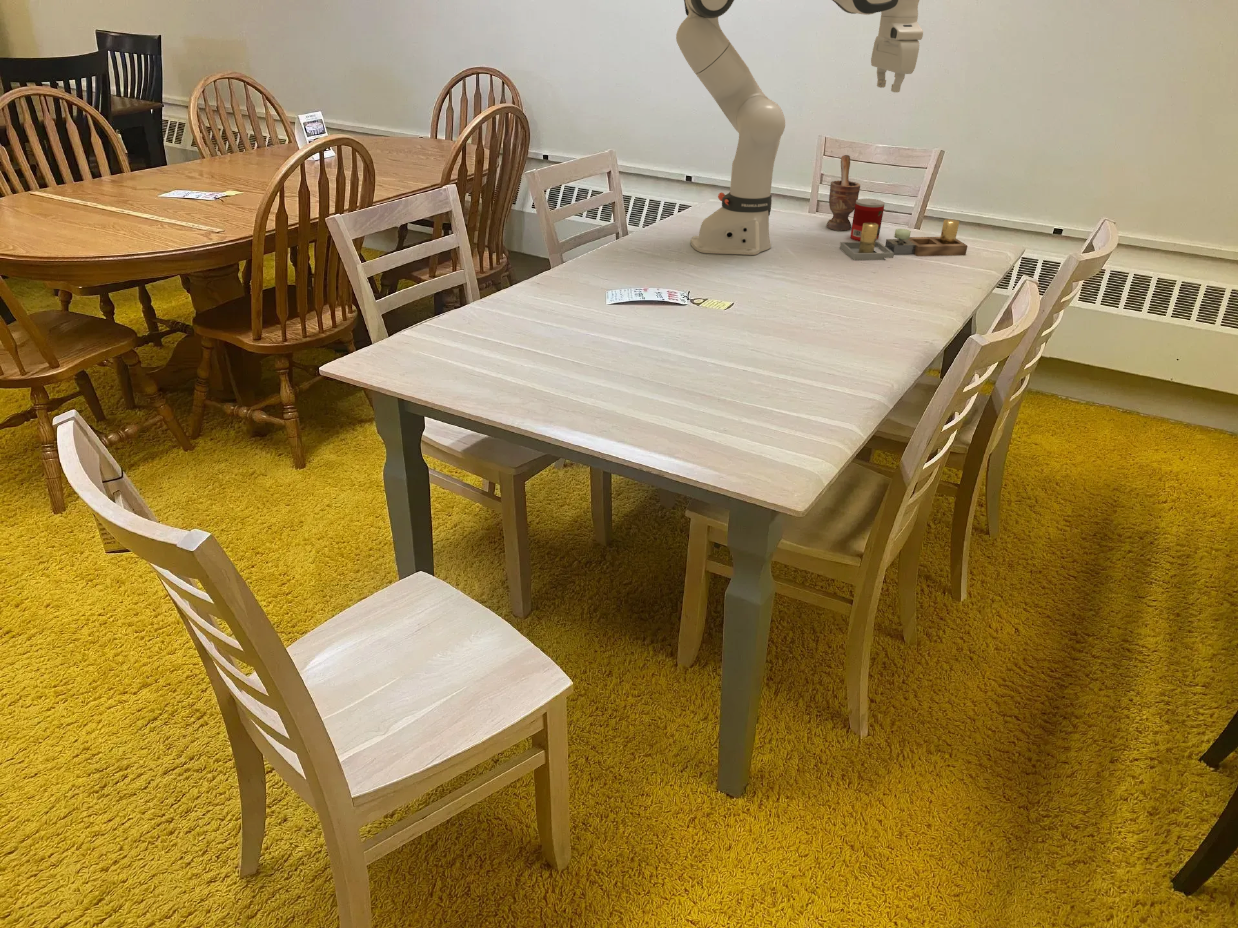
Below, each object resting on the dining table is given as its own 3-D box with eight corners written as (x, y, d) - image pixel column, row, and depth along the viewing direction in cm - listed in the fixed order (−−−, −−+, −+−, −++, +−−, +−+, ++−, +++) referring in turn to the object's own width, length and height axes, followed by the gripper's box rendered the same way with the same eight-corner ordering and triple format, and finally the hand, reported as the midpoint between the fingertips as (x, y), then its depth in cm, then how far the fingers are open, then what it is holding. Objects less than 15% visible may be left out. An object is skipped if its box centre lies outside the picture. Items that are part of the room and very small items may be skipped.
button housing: (892, 258, 227) (894, 245, 225) (884, 251, 232) (886, 239, 230) (913, 257, 227) (916, 245, 226) (904, 251, 232) (907, 239, 231)
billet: (861, 256, 226) (866, 226, 222) (856, 251, 230) (860, 222, 226) (875, 255, 227) (880, 226, 223) (870, 251, 230) (875, 222, 226)
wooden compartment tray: (915, 259, 226) (918, 246, 224) (902, 249, 234) (904, 237, 232) (964, 258, 227) (967, 245, 226) (949, 248, 235) (952, 236, 233)
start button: (895, 250, 227) (899, 233, 224) (890, 246, 230) (893, 229, 228) (909, 250, 227) (913, 232, 225) (903, 246, 231) (907, 228, 228)
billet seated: (941, 252, 228) (947, 223, 224) (935, 248, 232) (941, 219, 228) (955, 252, 229) (962, 223, 225) (948, 248, 232) (955, 219, 228)
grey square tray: (853, 262, 223) (854, 254, 222) (839, 250, 233) (840, 242, 232) (892, 261, 224) (894, 253, 223) (877, 249, 234) (878, 241, 233)
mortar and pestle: (815, 222, 258) (824, 154, 247) (840, 220, 260) (850, 153, 249) (832, 232, 248) (842, 162, 238) (858, 230, 250) (869, 161, 240)
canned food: (878, 245, 238) (885, 205, 232) (850, 243, 239) (856, 204, 233) (877, 237, 244) (883, 199, 238) (849, 235, 245) (855, 197, 240)
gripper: (869, 27, 216) (861, 84, 224) (901, 32, 199) (891, 95, 206) (892, 26, 217) (884, 84, 224) (926, 32, 200) (915, 95, 207)
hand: (887, 89), depth 215 cm, fingers open, 8 cm apart
